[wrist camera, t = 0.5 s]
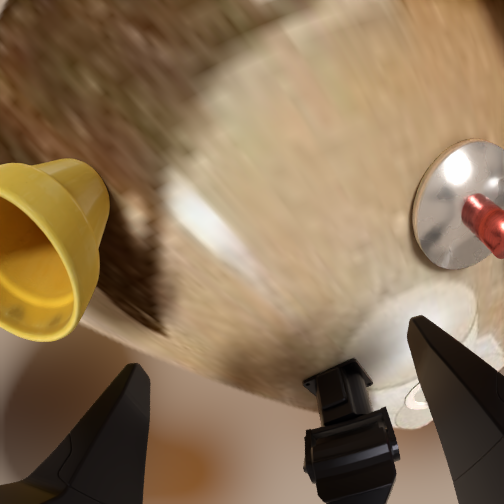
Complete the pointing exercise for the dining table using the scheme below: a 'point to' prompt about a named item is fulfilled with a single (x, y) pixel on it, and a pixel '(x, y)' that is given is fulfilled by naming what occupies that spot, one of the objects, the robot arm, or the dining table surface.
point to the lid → (462, 205)
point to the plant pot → (49, 245)
